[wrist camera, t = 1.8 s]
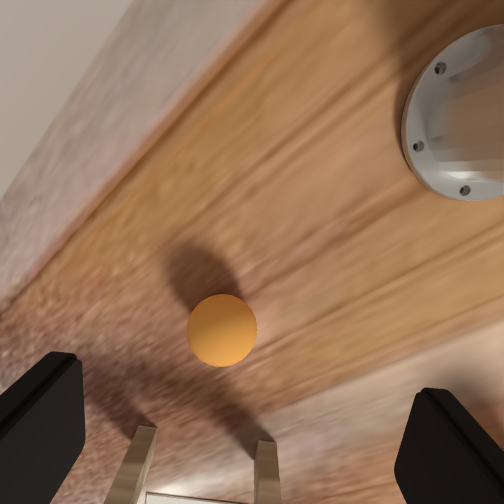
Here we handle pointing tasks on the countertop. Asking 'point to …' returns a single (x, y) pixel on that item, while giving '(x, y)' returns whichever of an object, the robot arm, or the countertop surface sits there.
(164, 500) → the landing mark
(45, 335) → the countertop surface
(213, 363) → the ball
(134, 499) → the bridge
